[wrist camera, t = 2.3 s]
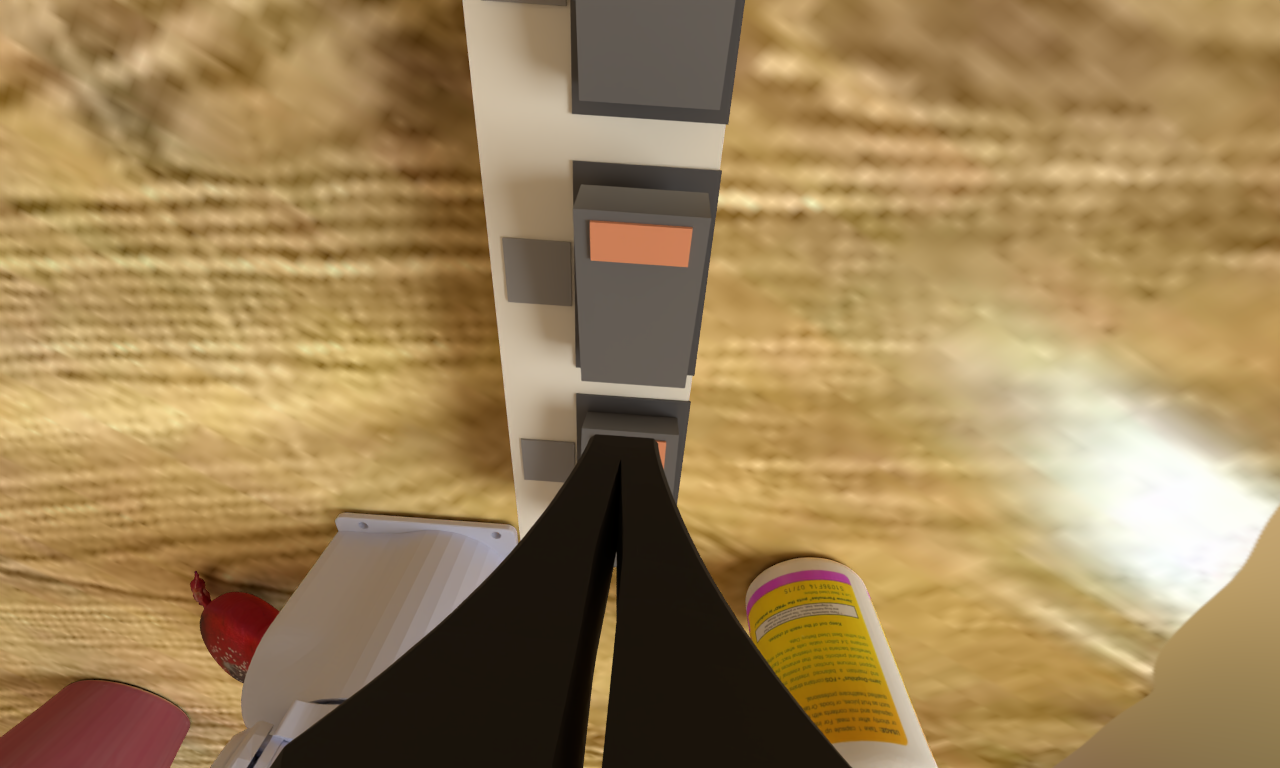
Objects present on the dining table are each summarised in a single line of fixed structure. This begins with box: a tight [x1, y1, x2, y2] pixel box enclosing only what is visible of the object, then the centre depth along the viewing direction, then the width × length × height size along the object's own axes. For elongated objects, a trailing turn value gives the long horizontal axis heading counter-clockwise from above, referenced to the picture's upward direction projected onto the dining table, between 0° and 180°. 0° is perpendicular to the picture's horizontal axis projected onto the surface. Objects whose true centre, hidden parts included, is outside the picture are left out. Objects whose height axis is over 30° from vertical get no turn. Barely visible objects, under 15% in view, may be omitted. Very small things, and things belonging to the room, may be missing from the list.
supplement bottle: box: [745, 557, 938, 768], centre depth 22 cm, size 7×7×13 cm
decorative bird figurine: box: [190, 571, 280, 683], centre depth 30 cm, size 3×18×10 cm
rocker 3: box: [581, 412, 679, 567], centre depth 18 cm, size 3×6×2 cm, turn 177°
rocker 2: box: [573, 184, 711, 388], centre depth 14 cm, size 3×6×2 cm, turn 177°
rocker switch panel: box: [463, 0, 745, 540], centre depth 16 cm, size 6×25×4 cm, turn 177°
